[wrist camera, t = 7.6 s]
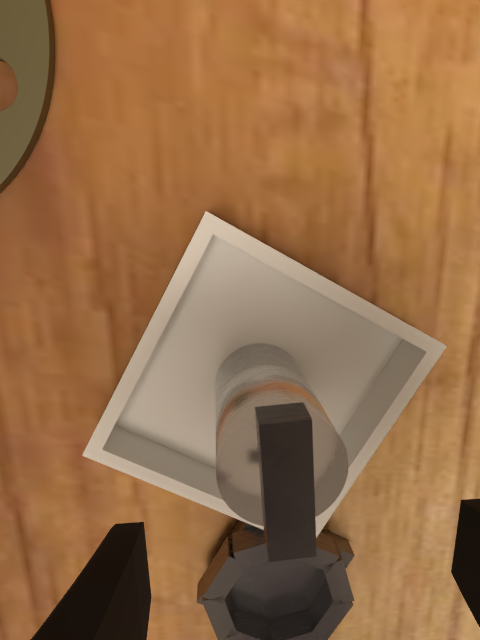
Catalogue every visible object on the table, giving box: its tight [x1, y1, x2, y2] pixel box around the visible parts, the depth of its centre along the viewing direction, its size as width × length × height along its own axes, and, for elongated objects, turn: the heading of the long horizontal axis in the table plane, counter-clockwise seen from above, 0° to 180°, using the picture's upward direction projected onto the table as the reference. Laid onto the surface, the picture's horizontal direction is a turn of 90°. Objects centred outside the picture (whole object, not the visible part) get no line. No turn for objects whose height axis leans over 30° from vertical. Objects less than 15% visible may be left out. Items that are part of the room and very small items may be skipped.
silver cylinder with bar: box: [215, 343, 349, 562], centre depth 14 cm, size 4×4×7 cm
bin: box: [82, 211, 447, 538], centre depth 17 cm, size 11×11×2 cm
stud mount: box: [197, 520, 354, 640], centre depth 20 cm, size 7×7×2 cm
